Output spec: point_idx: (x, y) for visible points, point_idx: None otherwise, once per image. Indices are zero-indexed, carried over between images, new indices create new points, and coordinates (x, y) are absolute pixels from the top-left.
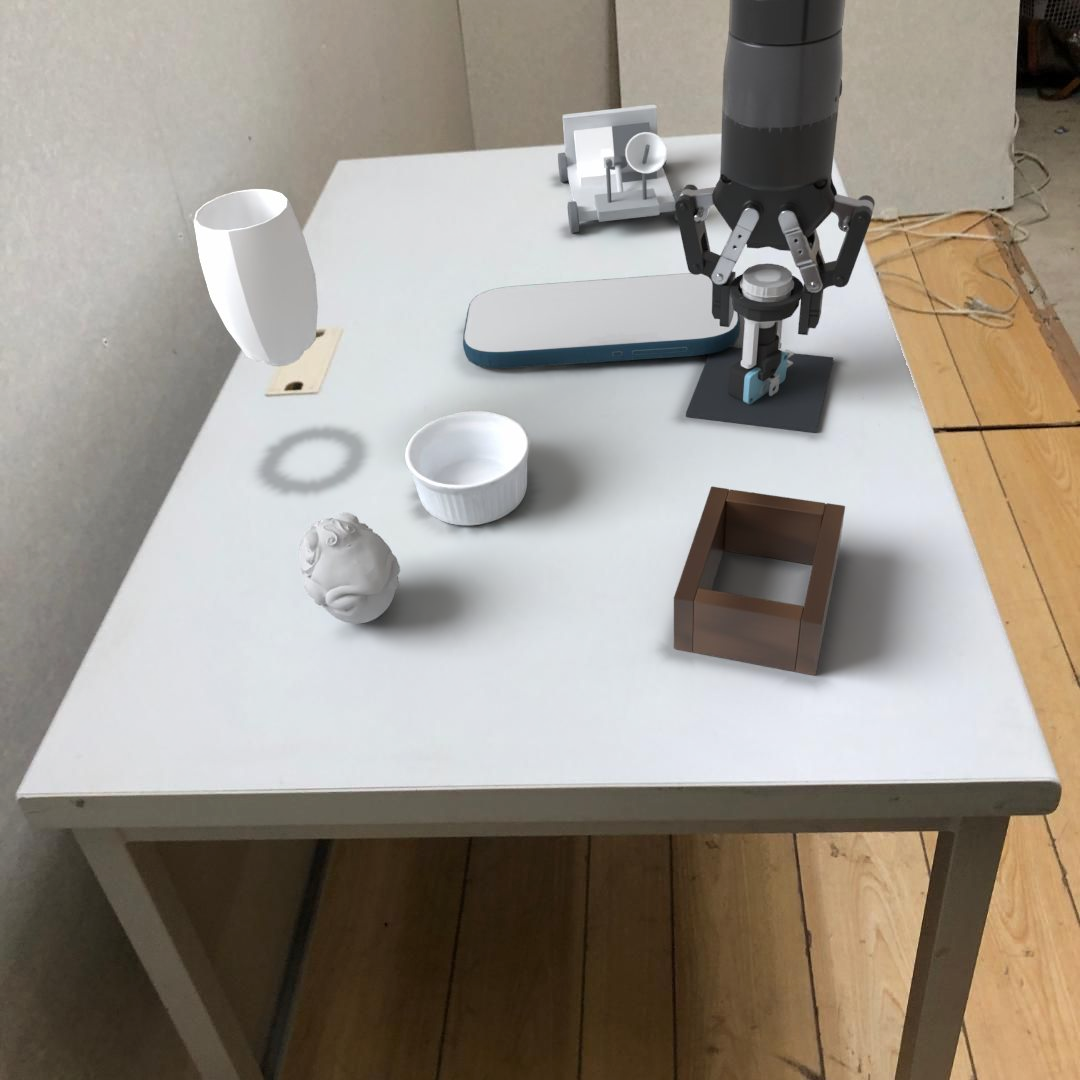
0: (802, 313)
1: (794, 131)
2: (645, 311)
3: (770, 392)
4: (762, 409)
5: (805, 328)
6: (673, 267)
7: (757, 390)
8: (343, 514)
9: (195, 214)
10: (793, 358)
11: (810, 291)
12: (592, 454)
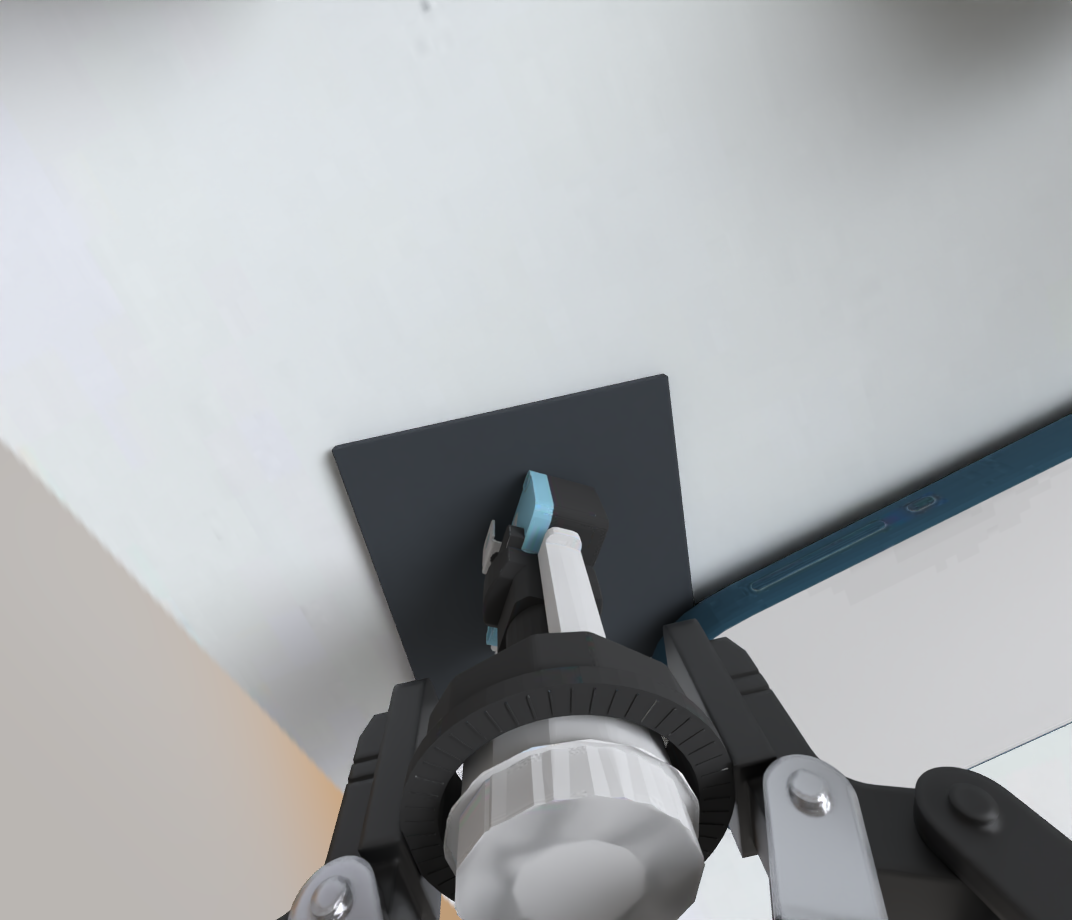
0: (404, 748)
1: None
2: (901, 671)
3: (492, 525)
4: (490, 469)
5: (397, 700)
6: None
7: (521, 511)
8: None
9: None
10: None
11: (354, 859)
12: (855, 94)
